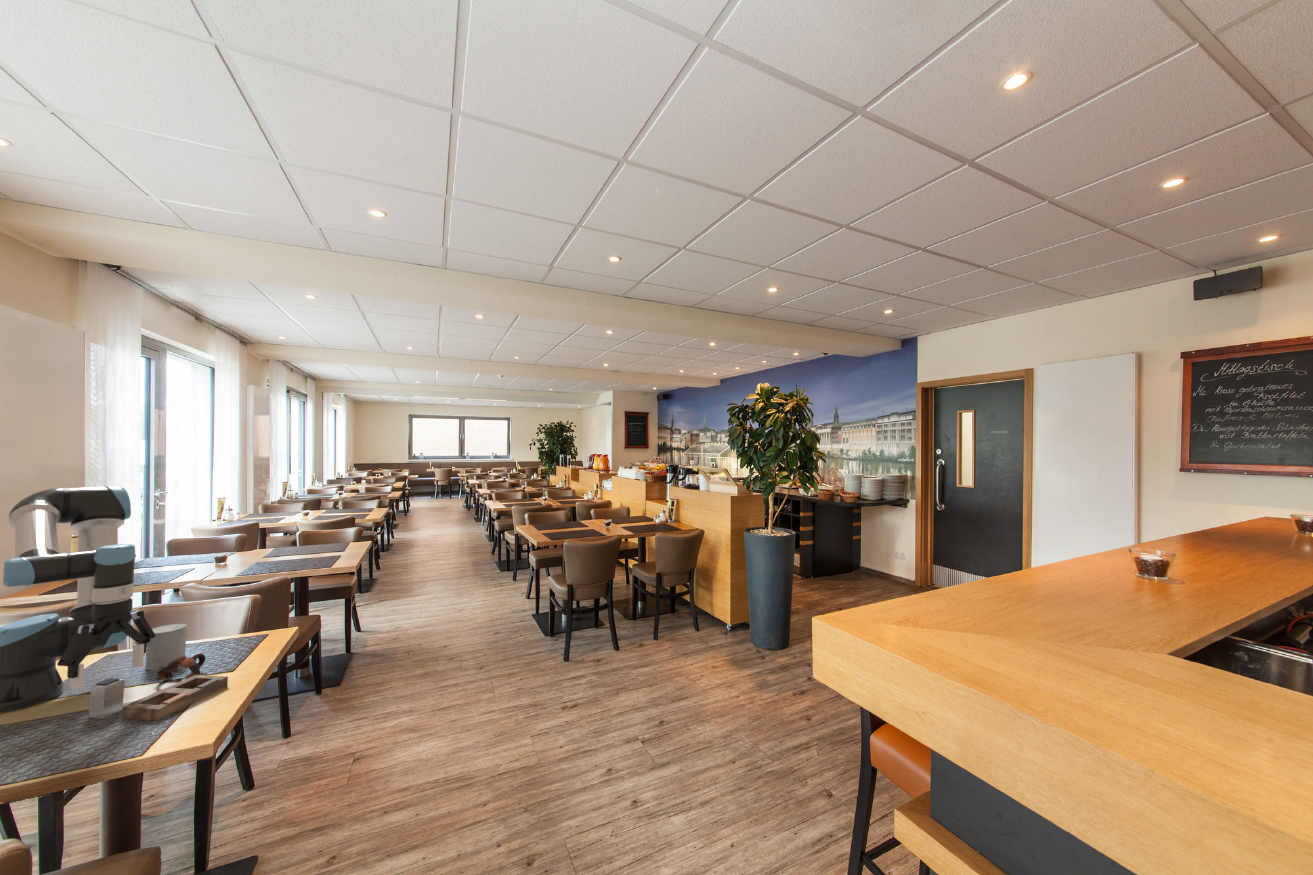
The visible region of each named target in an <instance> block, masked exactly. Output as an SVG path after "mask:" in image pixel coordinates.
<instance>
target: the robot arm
mask: <svg viewBox="0 0 1313 875" xmlns="http://www.w3.org/2000/svg"><path fill="white" fill-rule="evenodd" d="M131 506H132V505H131V498H130V496H129V493H128V491H127V490H126V488H124V487H121V486H107V485H103V486H85V487H84V486H81V487H80V486H78V487H55V488H54V487H53V488H47V489H45V490H41V491H38V492H34V493H33V494H30V495H28V496H26V497H24V498H22V499H21V500H20V501H18V502H17V503H16V504H15V505H14V506H13V507H12V508H11V510H10V511H9V514H8V523H9V525H10V526H11V527H12V528H14V558H9V559H7V560H5V561H4V562H3V572H2V585H3V586H4V587H6V588H11V587H13V588H14V587H23V586H24V587H26V586H27V587H28V586H33V585H38V584H47V583H53V582H54V583H56V582H61V581H68V580H70V581H71V580H75V579H77V581H76V582H77V585H76V587H77V591H76V592H77V593H76V594H77V596H76V604H75V605H74V606H73V607H72V608H71V609H69V611H68V612H69V613H68V616H62V617H60V615H59V614H58V613H47V614H40V615H35V616H29V617H26V618H23V619H22V618H21V619H19V620H18V619H17V620H14V621H12V622H10V623H7V624H5V625H2V626H0V714H2V713H3V714H4V713H8V712H14V711H18V710H22V709H26V708H29V707H33V706H35V705H38V704H41V703H44V702H47V701H50V700H51V699H54V698H56V697H58V696H59V695H61V694H62V693H63V692H64V686H65V685H64V680H63V679H62V677H61V675H60V673H59V671H58V669H57V667H56V664H57V666H58V667H67V672H66V673H67V674H66V677H67V679H70V681H69V682H70V684H69V690H75V691H80V690H83V689H84V688H83V686H84V676H85V675H84V671H85V663H82V662H83V661H84V660H85V658H86V657H87V656H88V655H89V653H90V652H91V651H95V650H99V649H106V648H108V647H113V646H117V645H119V644H121V643H123V642H124V641H125V640H126V639H127V638H128V637H129V638H130V639H132V640H133V641H135V642H136V643H133V644H132V655H131V656H132V661H131V668H142V667H144V657H145V656H144V654H146V651H147V643H149V642H150V641H151V638H154V637H155V633H154V632H153V630H152V627H151V626H150V624H149V621H148V620H146V617H145V611H144V610H134V608H133V598H132V597H133V596H134V575H135V562H136V557H137V554H136V546H135V544H131V543H119V542H118V541H119V535H118V532H119V531H118V529H119V528H120V527H121V526H123V525H124V524H125V520H128V519H129V518H130V517H131V513H132V510H131V508H132V507H131ZM57 524H70V529H71V530H73V531H75V532H77V551H74V552H64V553H60V549H59V547H60V546H59V539H58V529H57ZM132 622H133V623H134V625H135V626H136V628H137V629H138V630H137V629H136V628H135V627H134V626H133V625H132V624H131V623H132ZM58 658H60V659H59V660H58V662H57V659H58ZM56 662H57V663H56Z"/></svg>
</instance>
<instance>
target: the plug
mask: <svg viewBox="0 0 1313 875" xmlns="http://www.w3.org/2000/svg"><path fill="white" fill-rule="evenodd" d="M124 690H125V679H123V678H118V677H117V678H116V677H115V678H114V677H108V678H106V679H104V680H101V681H98V682H96V683H95V684H93V685H90V691H89V708H88V718H93V719H95V718H96V719H105V718H107V717H110V716H113V715H114V714H116V713H118V712H120V711H121V712H122V707H123V706H124V695H125V694H124V693H125V691H124Z"/></svg>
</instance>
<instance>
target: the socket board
mask: <svg viewBox="0 0 1313 875" xmlns="http://www.w3.org/2000/svg"><path fill="white" fill-rule="evenodd" d="M228 680H229V677H228V676H227V675H226V676H225V675H223V676H222V675H209V674H208V675H207V674H201V675H194V676H192V677H190V678H187V679H186V678H185V679H183V680H180V681H179V682H176V683H174V684H171V685H169V686H168V687H165V688H162V689H159V690H158V691H155V692H153V693H151V694H149V695H146V696H144V697H142V698H140V699H137V700H135V701H133V702H129V703H128V704H126V705H123V707H122V710H121V712H122V713H121V719H130V720H131V719H132V720H133V719H135V720H149V721H159V720H161V719H163V718H166V717H168V716H170V715H171V714H173V713H176V712H178V711H180V710H182V709H184V708H186V707H188V706H191V705H192V704H195V703H197V702H198V701H200V700H203V699H205V698H206V697H210V695H212V694H215V693H217V692H219V691H221V690H223V689H225V688H226V687H227V688H228V686H229V685H228V683H229V681H228Z"/></svg>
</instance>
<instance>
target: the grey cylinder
mask: <svg viewBox="0 0 1313 875" xmlns="http://www.w3.org/2000/svg"><path fill="white" fill-rule="evenodd" d="M187 627H188V624H187V623H185V622H184V623H182V622H177V623H176V622H175V623H168V624H162V625H160V626H159V625H158V626H155V627H151V629H152V630H153V632H154V633H155V637H154V638H151V641H150V642H149V643H147V648H146V653H145V657H146V658H145V666H144V667H145V668H144V669H145V670H147V671H158V670H159V669H161V668H162V667H166V666H168V664H169V663H171V662H172V661H174V660H176V659H177V658H179V657H181V656H184V655H185V656H186V646H187V645H186V644H187V642H186V640H187Z"/></svg>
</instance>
